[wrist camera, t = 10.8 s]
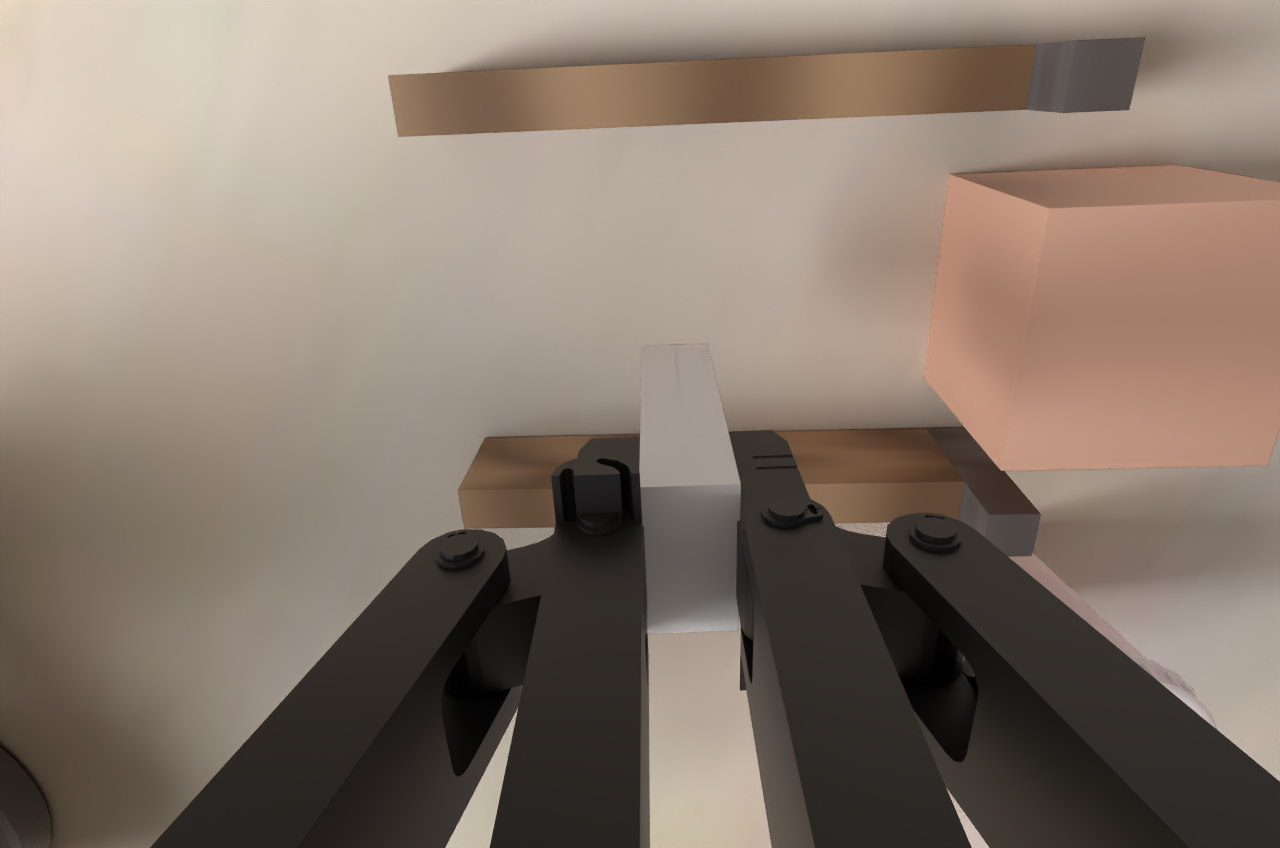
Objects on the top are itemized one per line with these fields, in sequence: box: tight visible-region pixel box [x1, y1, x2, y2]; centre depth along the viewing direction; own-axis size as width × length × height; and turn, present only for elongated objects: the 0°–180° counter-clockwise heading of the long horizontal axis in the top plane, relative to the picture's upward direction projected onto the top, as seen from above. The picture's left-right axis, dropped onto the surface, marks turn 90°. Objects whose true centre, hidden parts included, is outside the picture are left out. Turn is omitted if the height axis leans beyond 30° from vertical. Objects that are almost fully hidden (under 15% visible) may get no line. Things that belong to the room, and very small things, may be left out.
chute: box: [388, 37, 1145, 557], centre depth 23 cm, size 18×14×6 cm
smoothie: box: [1009, 553, 1217, 729], centre depth 23 cm, size 6×6×14 cm
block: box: [924, 165, 1280, 471], centre depth 22 cm, size 7×7×7 cm
